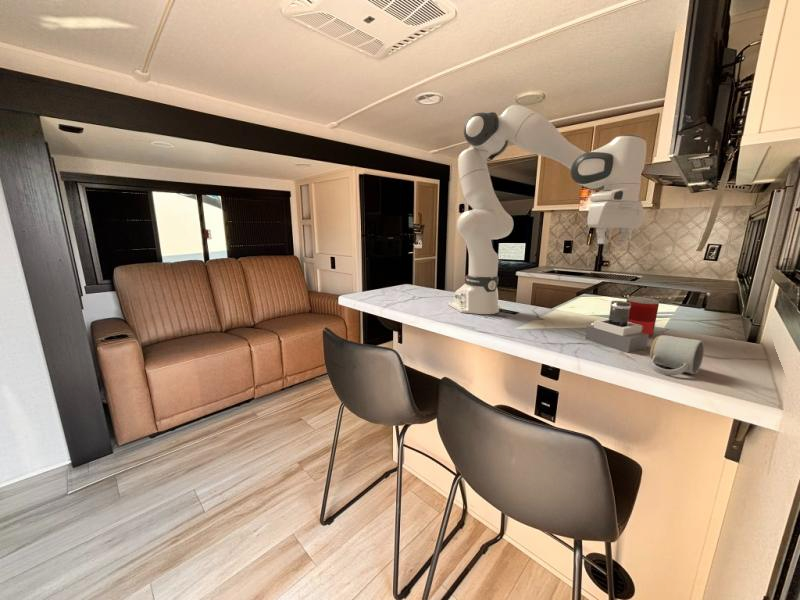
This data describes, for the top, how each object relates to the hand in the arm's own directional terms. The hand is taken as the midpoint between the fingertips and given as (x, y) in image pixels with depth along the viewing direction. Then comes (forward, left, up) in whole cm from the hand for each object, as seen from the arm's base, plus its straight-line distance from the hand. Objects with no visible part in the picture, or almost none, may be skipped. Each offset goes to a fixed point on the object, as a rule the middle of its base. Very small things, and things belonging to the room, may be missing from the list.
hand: (611, 243), depth 94 cm
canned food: (+7, +9, -28) cm, 30 cm away
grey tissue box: (+10, -7, -28) cm, 30 cm away
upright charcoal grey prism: (+10, -8, -24) cm, 27 cm away
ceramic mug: (+26, -13, -28) cm, 40 cm away
